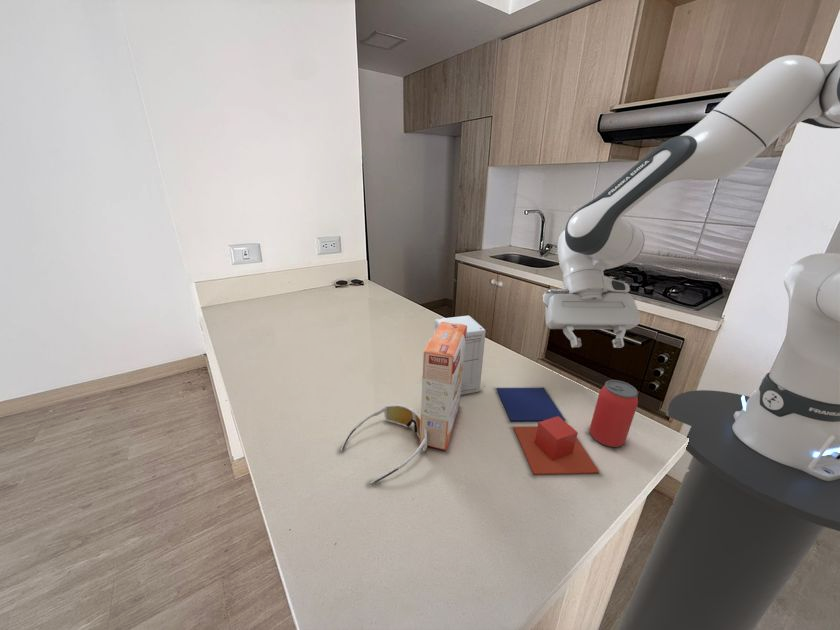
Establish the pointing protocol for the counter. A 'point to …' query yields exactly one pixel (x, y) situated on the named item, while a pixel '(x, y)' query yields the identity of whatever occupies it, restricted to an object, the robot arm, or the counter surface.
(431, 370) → the cracker box
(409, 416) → the sunglasses
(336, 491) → the counter surface
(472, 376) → the supplement box
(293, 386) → the counter surface
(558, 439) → the red block
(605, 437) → the beer can
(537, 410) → the navy mat
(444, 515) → the counter surface
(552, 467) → the terracotta mat
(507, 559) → the counter surface
